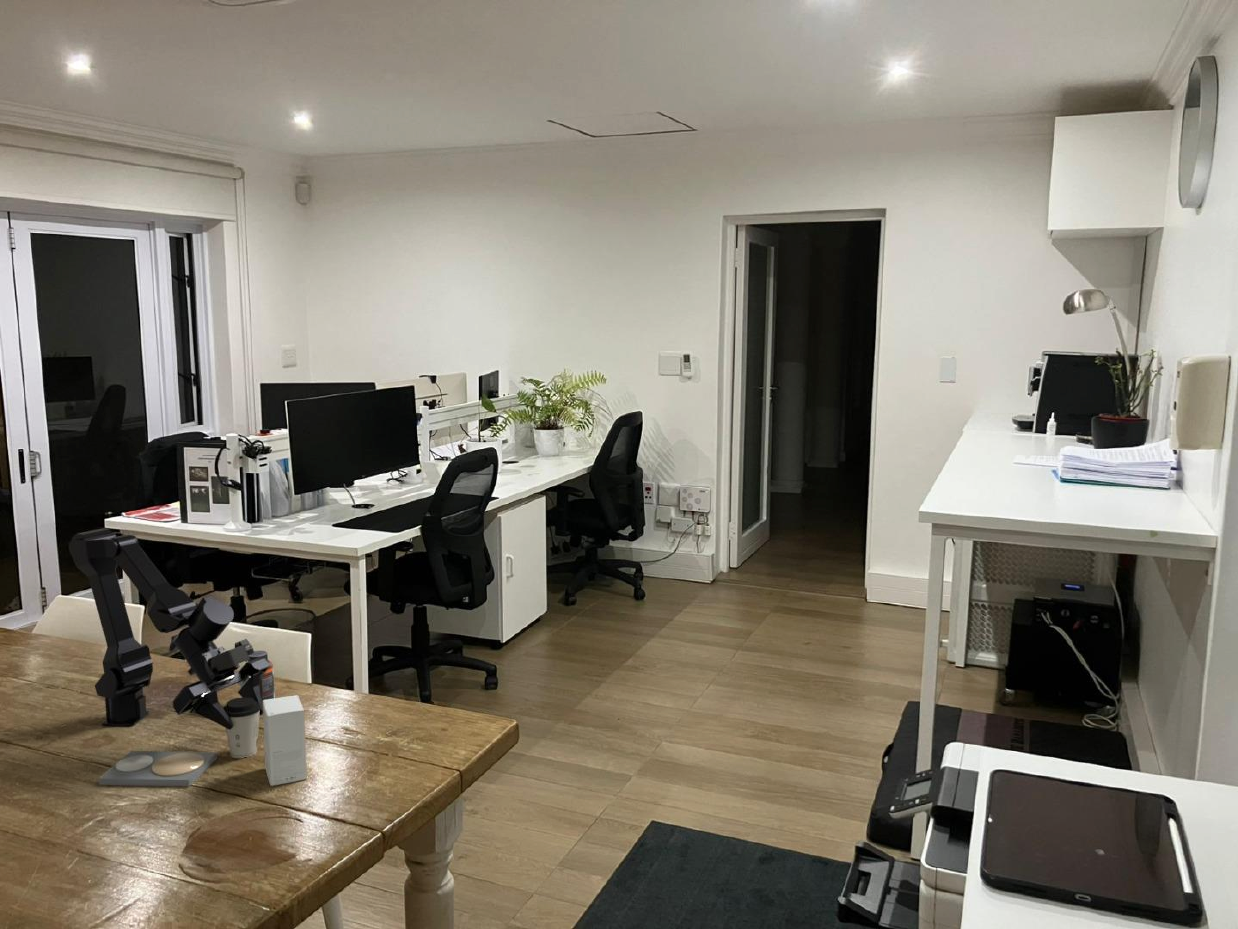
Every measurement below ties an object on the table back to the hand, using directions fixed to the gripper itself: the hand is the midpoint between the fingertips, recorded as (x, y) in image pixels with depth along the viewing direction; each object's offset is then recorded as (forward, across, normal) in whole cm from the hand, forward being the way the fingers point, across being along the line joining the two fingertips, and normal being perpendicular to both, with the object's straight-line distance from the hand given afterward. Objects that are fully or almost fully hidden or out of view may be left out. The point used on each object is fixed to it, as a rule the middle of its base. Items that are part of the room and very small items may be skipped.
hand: (247, 720), depth 180 cm
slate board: (-2, -12, +11) cm, 17 cm away
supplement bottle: (-7, +18, +17) cm, 26 cm away
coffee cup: (+4, 0, +6) cm, 7 cm away
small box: (+13, -3, -4) cm, 14 cm away
